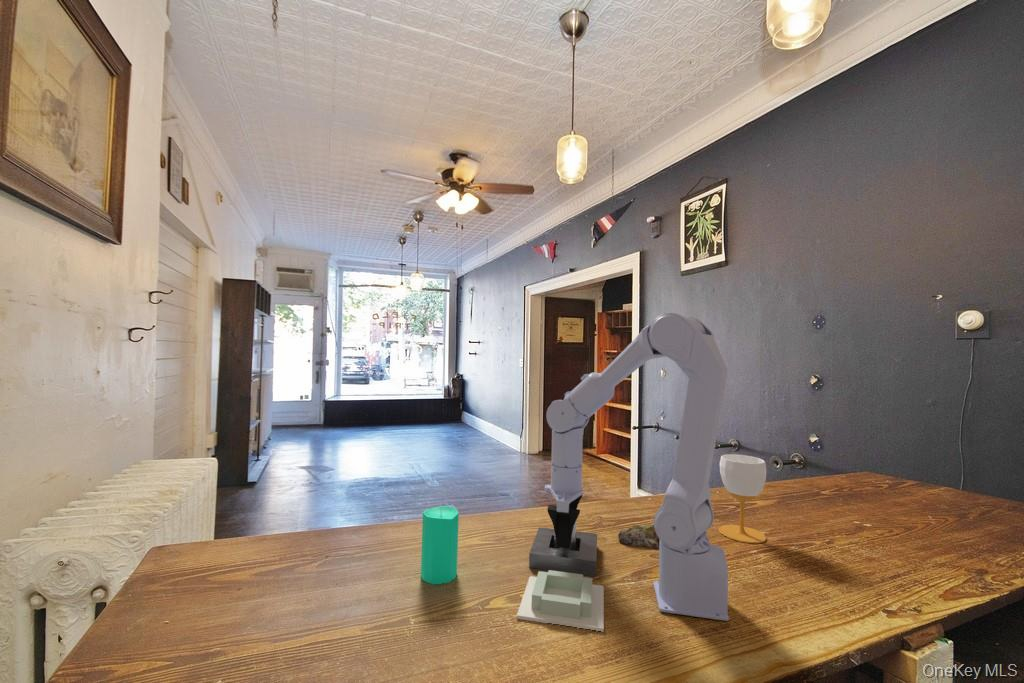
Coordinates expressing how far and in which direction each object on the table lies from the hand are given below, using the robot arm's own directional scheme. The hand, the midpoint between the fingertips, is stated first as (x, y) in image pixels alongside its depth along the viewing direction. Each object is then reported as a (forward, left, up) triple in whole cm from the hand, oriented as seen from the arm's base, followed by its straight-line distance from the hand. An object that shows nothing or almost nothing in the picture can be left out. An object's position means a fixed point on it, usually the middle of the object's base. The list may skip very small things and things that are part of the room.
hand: (565, 538), depth 80 cm
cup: (-36, -20, -4) cm, 41 cm away
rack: (-1, +15, -3) cm, 15 cm away
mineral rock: (-15, -12, -4) cm, 19 cm away
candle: (+20, +12, -4) cm, 24 cm away
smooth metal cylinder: (0, 0, -3) cm, 3 cm away
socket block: (0, 0, -3) cm, 3 cm away
